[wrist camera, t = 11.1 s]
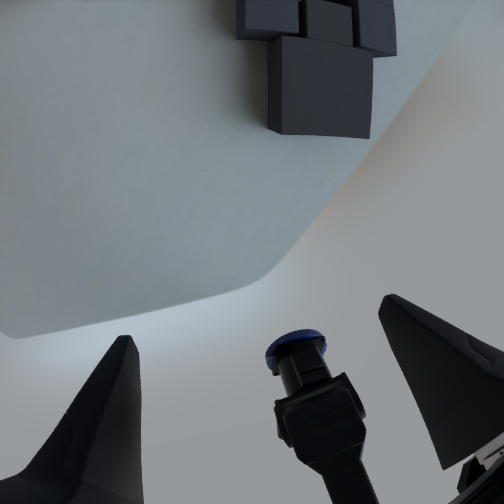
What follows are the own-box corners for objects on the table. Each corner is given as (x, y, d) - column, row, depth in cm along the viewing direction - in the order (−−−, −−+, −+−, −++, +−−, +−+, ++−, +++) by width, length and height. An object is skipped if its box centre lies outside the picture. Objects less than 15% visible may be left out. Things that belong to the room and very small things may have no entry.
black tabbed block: (348, 21, 13) (371, 13, 10) (346, 132, 18) (369, 139, 15) (266, 7, 12) (280, -8, 9) (267, 129, 17) (281, 134, 14)
